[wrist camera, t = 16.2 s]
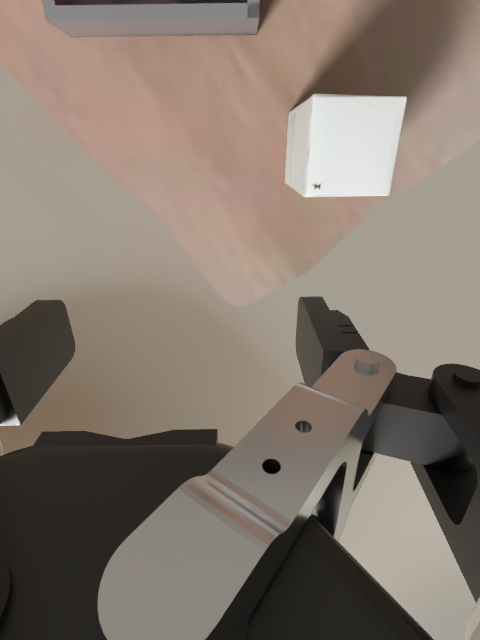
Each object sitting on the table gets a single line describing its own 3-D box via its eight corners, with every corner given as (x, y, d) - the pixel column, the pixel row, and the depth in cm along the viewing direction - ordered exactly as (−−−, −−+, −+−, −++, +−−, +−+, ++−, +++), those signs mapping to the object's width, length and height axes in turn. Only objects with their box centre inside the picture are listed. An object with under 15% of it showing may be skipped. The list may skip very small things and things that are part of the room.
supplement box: (347, 184, 40) (390, 200, 29) (283, 183, 40) (301, 198, 29) (358, 109, 37) (411, 94, 26) (288, 108, 37) (310, 92, 26)
